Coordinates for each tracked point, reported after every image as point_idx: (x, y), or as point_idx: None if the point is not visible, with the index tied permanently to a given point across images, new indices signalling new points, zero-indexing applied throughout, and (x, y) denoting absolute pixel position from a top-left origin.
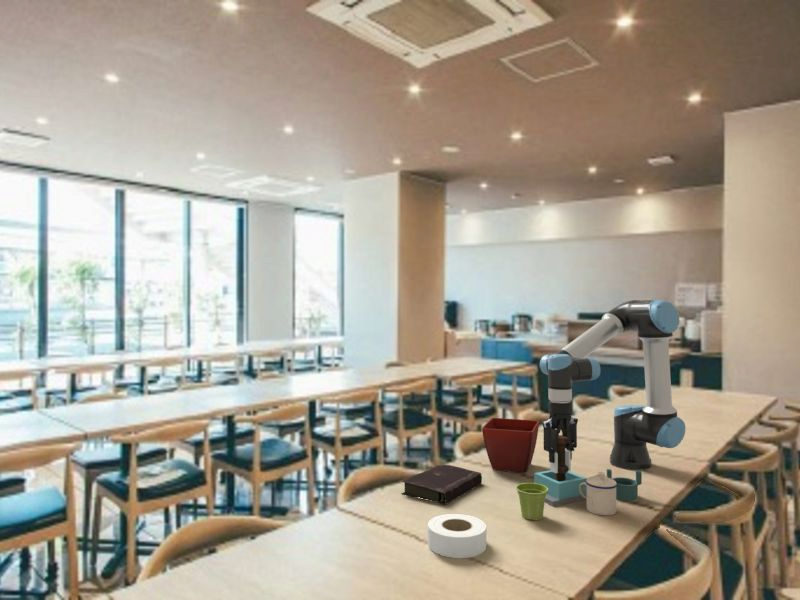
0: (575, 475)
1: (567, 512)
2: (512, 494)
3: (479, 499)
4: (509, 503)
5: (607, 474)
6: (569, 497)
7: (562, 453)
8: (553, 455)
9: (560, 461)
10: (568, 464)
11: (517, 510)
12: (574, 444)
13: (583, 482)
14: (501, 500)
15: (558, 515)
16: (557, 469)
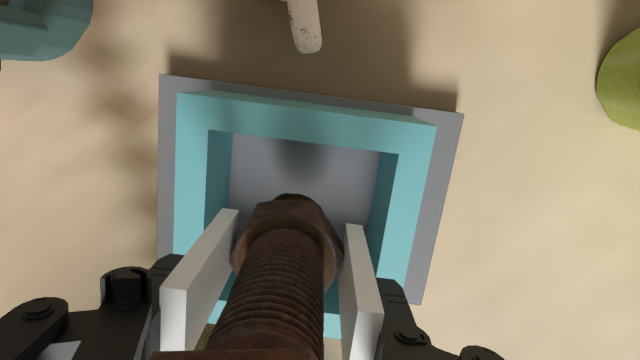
0: (203, 179)
1: (464, 12)
2: (476, 315)
3: (636, 348)
4: (579, 249)
5: (2, 26)
6: (341, 105)
7: (290, 292)
8: (392, 318)
9: (311, 261)
10: (226, 233)
11: (627, 171)
12: (39, 329)
13: (309, 9)
14: (575, 292)
15: (534, 10)
16: (348, 234)
